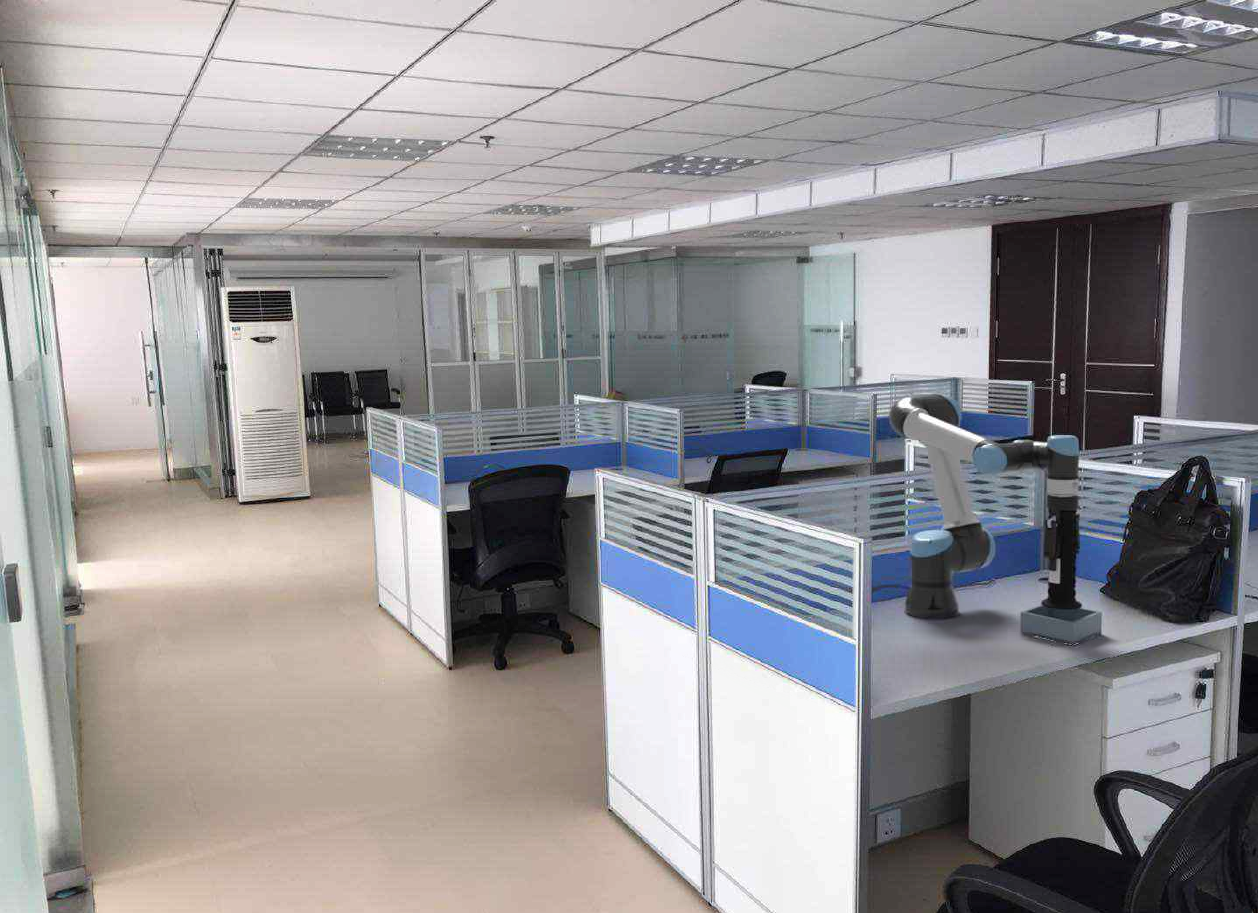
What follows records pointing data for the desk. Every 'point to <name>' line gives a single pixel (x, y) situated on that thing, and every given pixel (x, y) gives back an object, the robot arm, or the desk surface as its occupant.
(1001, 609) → the desk surface
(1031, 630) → the box
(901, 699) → the desk surface
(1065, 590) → the handle grip
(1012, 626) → the desk surface
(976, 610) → the desk surface
